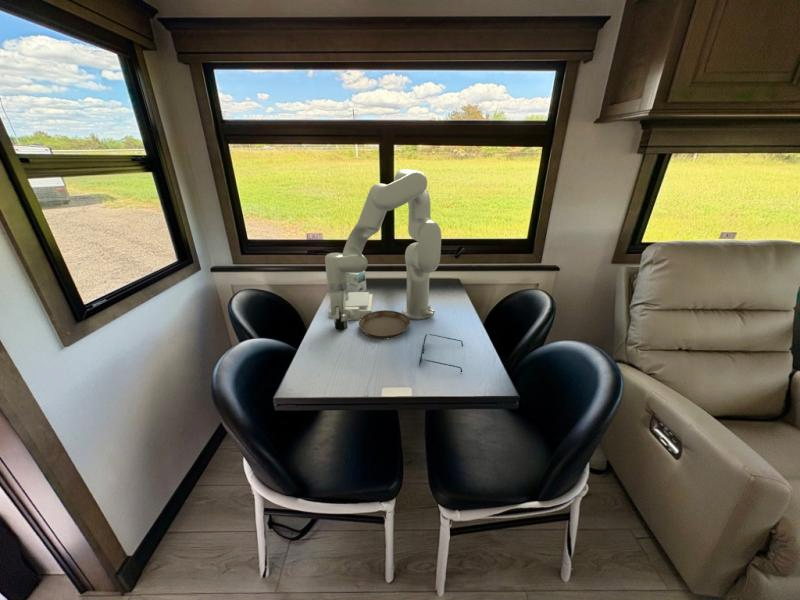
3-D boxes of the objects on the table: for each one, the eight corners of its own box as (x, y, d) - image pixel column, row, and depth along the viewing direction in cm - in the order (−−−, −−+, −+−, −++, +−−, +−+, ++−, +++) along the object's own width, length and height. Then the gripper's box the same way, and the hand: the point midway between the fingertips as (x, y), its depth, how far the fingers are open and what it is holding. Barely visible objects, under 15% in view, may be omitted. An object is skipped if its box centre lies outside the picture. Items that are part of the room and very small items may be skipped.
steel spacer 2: (351, 298, 150) (350, 286, 147) (342, 302, 146) (341, 289, 144) (343, 295, 153) (342, 283, 150) (334, 299, 149) (333, 286, 147)
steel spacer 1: (350, 327, 136) (349, 314, 133) (340, 331, 132) (339, 318, 130) (342, 323, 139) (340, 310, 136) (332, 327, 135) (330, 314, 133)
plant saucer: (404, 344, 124) (404, 337, 122) (352, 339, 127) (351, 331, 126) (413, 319, 142) (413, 312, 141) (367, 315, 146) (367, 308, 144)
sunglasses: (423, 342, 125) (425, 331, 123) (462, 351, 123) (465, 339, 121) (417, 370, 110) (419, 357, 108) (461, 379, 108) (464, 367, 106)
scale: (372, 299, 160) (372, 290, 158) (371, 319, 141) (370, 309, 139) (335, 300, 160) (334, 290, 157) (328, 320, 141) (327, 310, 139)
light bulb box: (366, 290, 171) (365, 270, 166) (358, 294, 166) (357, 274, 161) (350, 286, 176) (349, 267, 172) (342, 290, 171) (340, 270, 166)
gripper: (331, 277, 135) (334, 316, 143) (324, 294, 120) (328, 337, 127) (349, 277, 136) (352, 316, 143) (344, 293, 120) (348, 336, 128)
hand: (341, 325), depth 135 cm, fingers closed on steel spacer 1, 5 cm apart
